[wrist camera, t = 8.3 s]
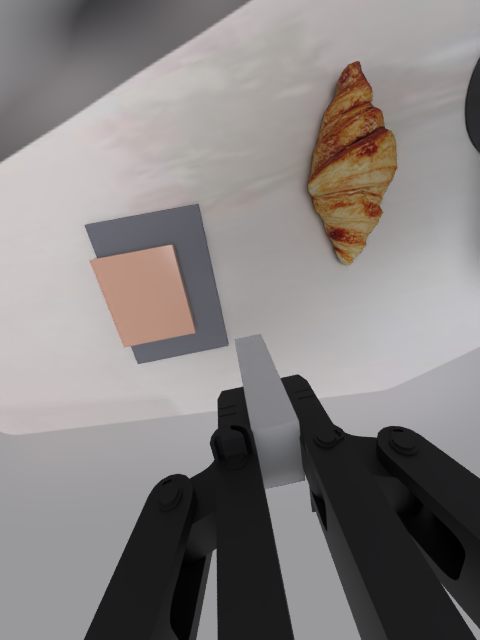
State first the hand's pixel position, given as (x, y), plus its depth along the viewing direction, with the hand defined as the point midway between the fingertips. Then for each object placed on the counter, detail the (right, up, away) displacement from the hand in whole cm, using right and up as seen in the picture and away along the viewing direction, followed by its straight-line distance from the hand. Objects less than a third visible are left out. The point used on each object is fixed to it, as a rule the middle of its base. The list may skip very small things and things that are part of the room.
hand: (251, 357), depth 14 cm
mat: (-11, +6, +21) cm, 24 cm away
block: (-8, +6, +19) cm, 21 cm away
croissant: (+12, +20, +18) cm, 30 cm away
